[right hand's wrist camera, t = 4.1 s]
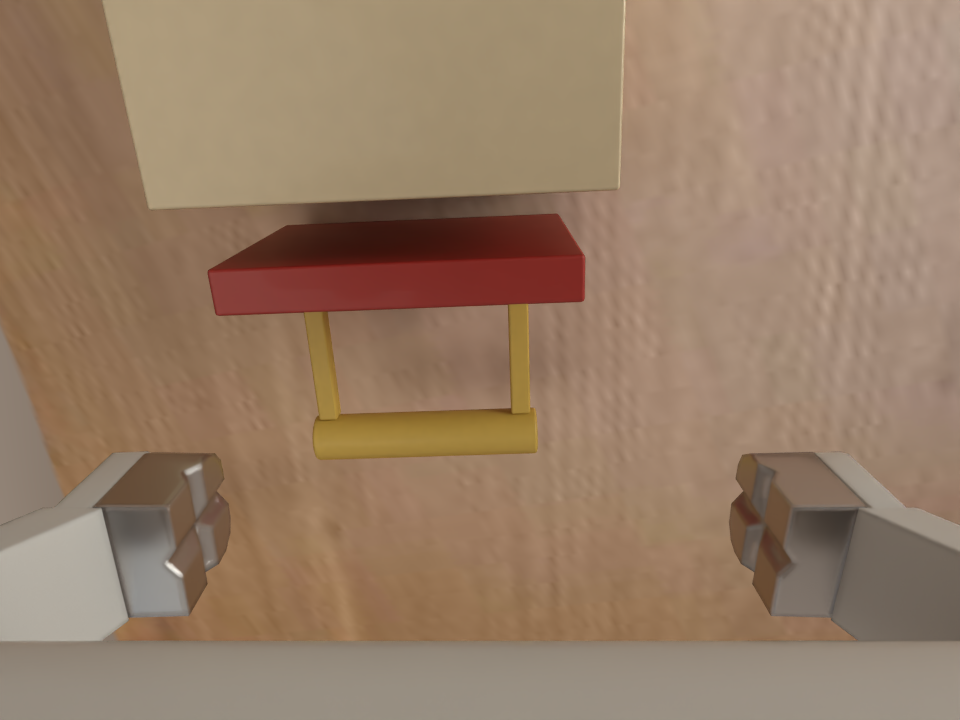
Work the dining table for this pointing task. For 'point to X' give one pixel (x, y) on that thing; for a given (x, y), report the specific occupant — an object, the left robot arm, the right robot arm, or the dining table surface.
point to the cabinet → (369, 98)
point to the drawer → (401, 285)
